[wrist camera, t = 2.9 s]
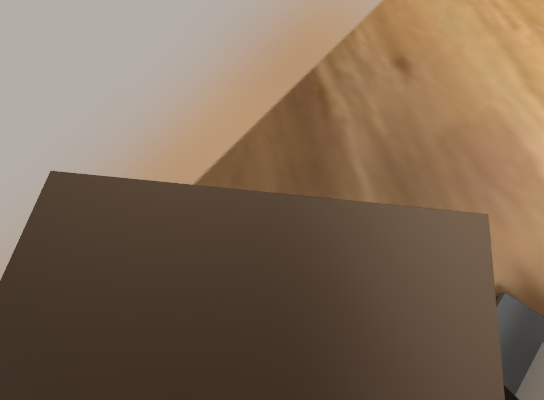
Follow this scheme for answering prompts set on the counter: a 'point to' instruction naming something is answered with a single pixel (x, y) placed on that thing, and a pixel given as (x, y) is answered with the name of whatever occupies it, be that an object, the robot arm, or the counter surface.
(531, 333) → the build board
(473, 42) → the counter surface
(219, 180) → the counter surface
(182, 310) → the walnut pillar block
